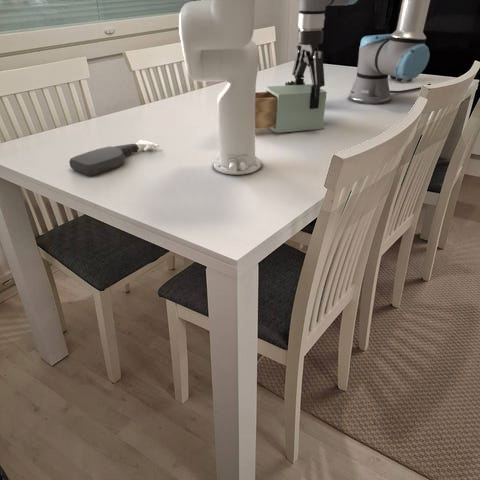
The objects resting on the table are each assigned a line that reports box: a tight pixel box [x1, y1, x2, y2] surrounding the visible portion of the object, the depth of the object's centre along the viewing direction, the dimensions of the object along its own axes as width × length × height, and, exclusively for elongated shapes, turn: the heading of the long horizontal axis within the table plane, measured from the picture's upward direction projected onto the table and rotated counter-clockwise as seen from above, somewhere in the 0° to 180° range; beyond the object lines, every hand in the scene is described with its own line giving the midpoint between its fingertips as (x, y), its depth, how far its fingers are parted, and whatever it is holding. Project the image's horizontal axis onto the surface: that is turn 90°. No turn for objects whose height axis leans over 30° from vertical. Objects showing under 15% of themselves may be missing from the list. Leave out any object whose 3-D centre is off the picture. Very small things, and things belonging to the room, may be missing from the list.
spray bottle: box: [68, 139, 160, 177], centre depth 124 cm, size 3×11×24 cm
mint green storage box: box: [264, 83, 327, 134], centre depth 144 cm, size 16×11×12 cm
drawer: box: [255, 91, 277, 130], centre depth 140 cm, size 21×10×10 cm, turn 108°
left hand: (235, 83), depth 134 cm, fingers closed
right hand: (305, 103), depth 144 cm, fingers closed on mint green storage box, 11 cm apart
